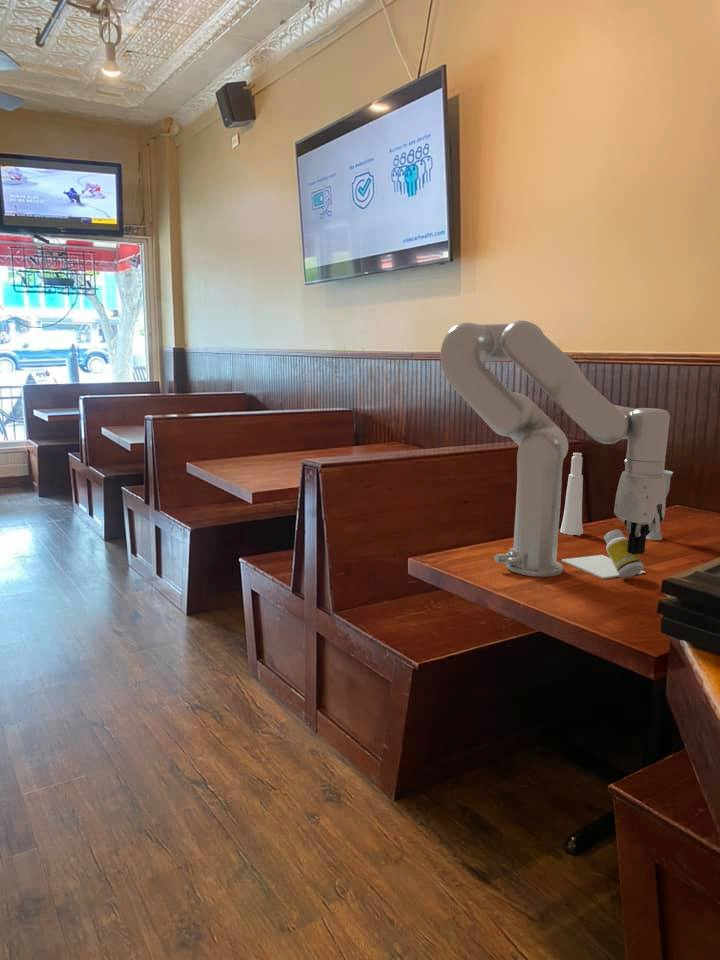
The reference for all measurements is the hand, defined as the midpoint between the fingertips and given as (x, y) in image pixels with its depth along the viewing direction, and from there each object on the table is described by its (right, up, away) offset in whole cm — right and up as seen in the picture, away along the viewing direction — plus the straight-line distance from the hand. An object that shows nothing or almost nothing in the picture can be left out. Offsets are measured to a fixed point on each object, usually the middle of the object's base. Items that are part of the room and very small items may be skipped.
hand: (635, 552), depth 148 cm
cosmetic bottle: (-1, +1, +42) cm, 42 cm away
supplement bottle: (0, -4, +1) cm, 5 cm away
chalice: (+20, 0, +39) cm, 44 cm away
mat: (-3, -4, +11) cm, 13 cm away
